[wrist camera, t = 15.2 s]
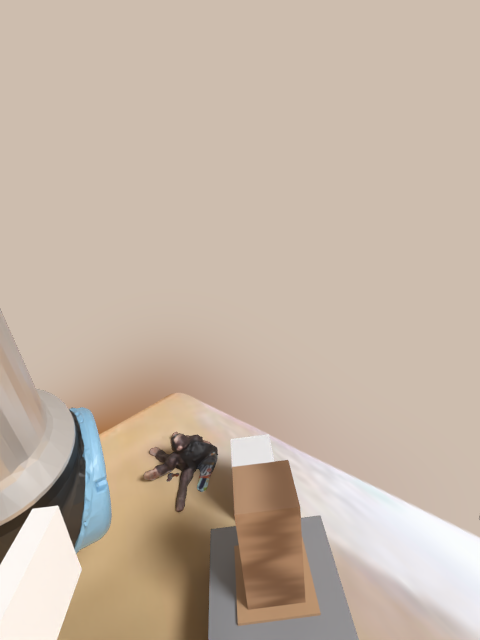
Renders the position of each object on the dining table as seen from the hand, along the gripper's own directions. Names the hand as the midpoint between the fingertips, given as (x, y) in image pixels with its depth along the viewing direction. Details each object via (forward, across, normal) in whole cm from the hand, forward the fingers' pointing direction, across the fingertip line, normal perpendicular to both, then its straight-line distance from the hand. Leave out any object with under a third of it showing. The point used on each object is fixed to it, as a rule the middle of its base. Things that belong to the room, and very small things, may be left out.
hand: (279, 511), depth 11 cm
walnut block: (+15, 0, -25) cm, 29 cm away
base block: (+15, 0, -30) cm, 33 cm away
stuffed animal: (+36, -11, -31) cm, 49 cm away
